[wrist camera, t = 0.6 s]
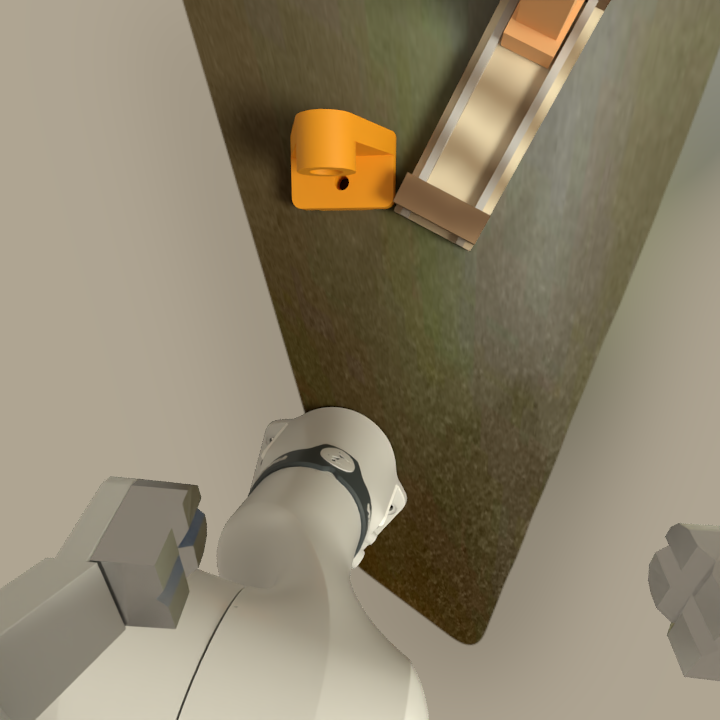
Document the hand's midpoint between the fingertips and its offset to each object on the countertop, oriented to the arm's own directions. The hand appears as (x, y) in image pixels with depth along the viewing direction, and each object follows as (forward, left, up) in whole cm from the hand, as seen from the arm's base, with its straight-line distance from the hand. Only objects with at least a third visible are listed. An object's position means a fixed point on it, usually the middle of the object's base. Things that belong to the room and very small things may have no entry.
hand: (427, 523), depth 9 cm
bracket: (+6, +16, -50) cm, 53 cm away
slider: (+26, +5, -48) cm, 55 cm away
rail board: (+19, +5, -49) cm, 53 cm away
